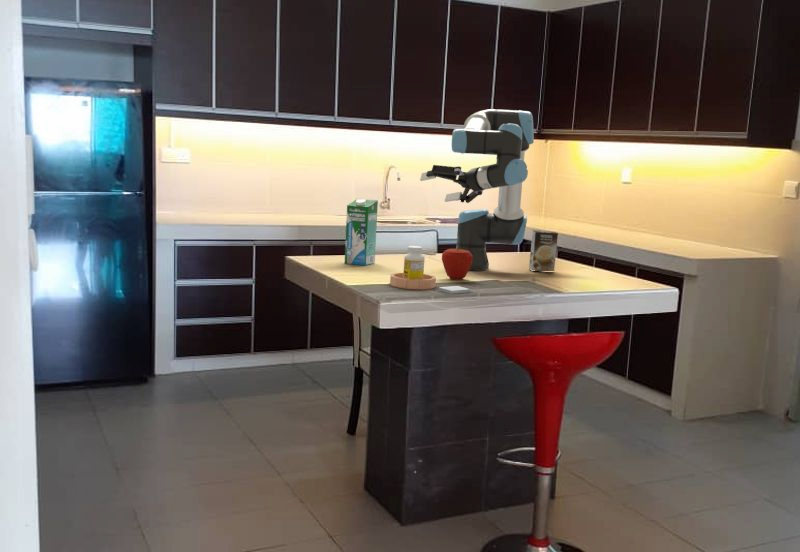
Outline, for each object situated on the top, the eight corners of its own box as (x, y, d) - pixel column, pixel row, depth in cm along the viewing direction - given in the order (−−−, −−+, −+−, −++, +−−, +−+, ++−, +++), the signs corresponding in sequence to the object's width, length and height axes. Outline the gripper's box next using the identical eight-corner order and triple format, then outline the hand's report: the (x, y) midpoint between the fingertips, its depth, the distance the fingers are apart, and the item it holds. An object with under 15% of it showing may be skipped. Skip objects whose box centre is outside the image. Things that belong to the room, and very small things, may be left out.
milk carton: (344, 263, 301) (347, 199, 297) (354, 260, 310) (357, 198, 306) (365, 265, 298) (368, 200, 294) (374, 263, 306) (378, 200, 302)
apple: (435, 277, 278) (437, 244, 276) (461, 277, 282) (464, 244, 280) (449, 283, 268) (451, 248, 266) (476, 282, 272) (478, 248, 270)
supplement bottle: (402, 282, 259) (404, 244, 257) (421, 283, 260) (424, 245, 257) (403, 286, 252) (406, 247, 250) (423, 287, 253) (426, 248, 251)
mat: (461, 289, 256) (462, 288, 256) (477, 294, 248) (477, 293, 248) (431, 291, 250) (431, 289, 250) (445, 296, 242) (446, 294, 242)
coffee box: (531, 272, 306) (535, 231, 304) (528, 269, 312) (531, 230, 310) (554, 273, 306) (558, 233, 304) (551, 270, 313) (554, 231, 310)
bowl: (420, 282, 266) (421, 272, 266) (443, 290, 253) (444, 279, 253) (382, 283, 259) (382, 273, 258) (404, 291, 246) (404, 280, 246)
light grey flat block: (457, 288, 254) (457, 285, 254) (470, 292, 249) (470, 289, 249) (438, 290, 249) (438, 287, 249) (451, 293, 244) (451, 290, 244)
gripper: (457, 166, 240) (407, 177, 255) (502, 208, 255) (453, 215, 270) (463, 147, 242) (413, 158, 257) (507, 188, 258) (458, 197, 273)
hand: (433, 187), depth 264 cm, fingers open, 13 cm apart
